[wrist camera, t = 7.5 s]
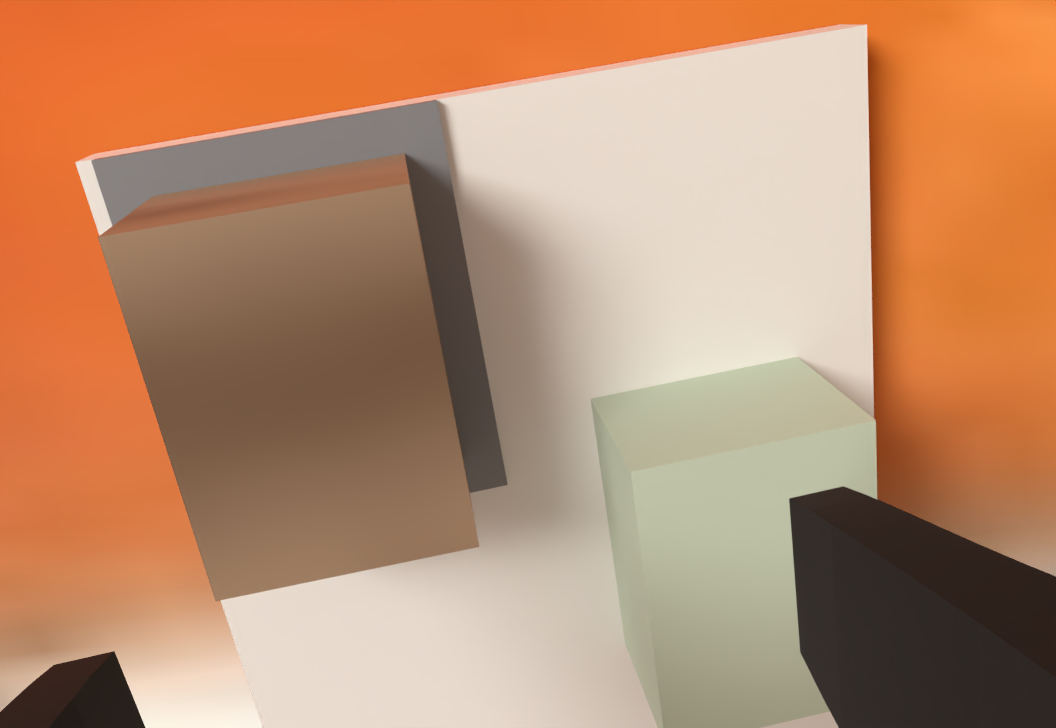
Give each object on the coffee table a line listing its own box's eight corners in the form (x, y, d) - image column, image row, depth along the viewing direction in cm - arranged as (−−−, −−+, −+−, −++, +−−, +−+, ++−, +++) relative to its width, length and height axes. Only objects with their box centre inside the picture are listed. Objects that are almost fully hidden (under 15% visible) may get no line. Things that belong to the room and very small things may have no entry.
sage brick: (809, 602, 19) (880, 699, 17) (625, 643, 19) (666, 749, 16) (797, 356, 17) (875, 420, 15) (590, 399, 17) (630, 472, 14)
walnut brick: (463, 460, 17) (478, 547, 14) (244, 503, 17) (216, 601, 14) (404, 153, 15) (409, 183, 12) (152, 195, 15) (98, 237, 12)
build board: (861, 788, 23) (885, 828, 22) (340, 915, 22) (337, 963, 21) (839, 24, 16) (872, 24, 15) (93, 154, 15) (71, 164, 14)
